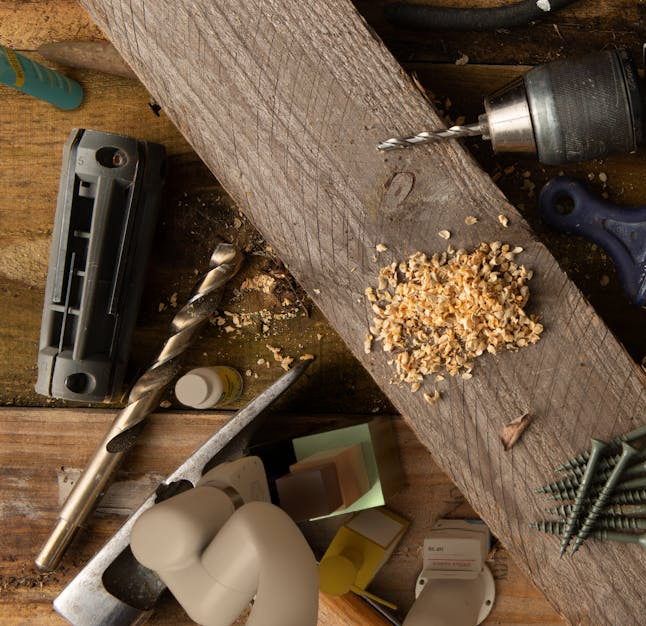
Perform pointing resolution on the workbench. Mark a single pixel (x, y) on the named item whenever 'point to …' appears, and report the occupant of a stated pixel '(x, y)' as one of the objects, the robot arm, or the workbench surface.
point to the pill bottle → (209, 387)
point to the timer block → (310, 492)
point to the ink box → (456, 549)
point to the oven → (375, 449)
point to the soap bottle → (360, 552)
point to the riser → (343, 470)
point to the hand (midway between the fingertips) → (269, 482)
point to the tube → (38, 80)
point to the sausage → (88, 56)
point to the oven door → (276, 458)
